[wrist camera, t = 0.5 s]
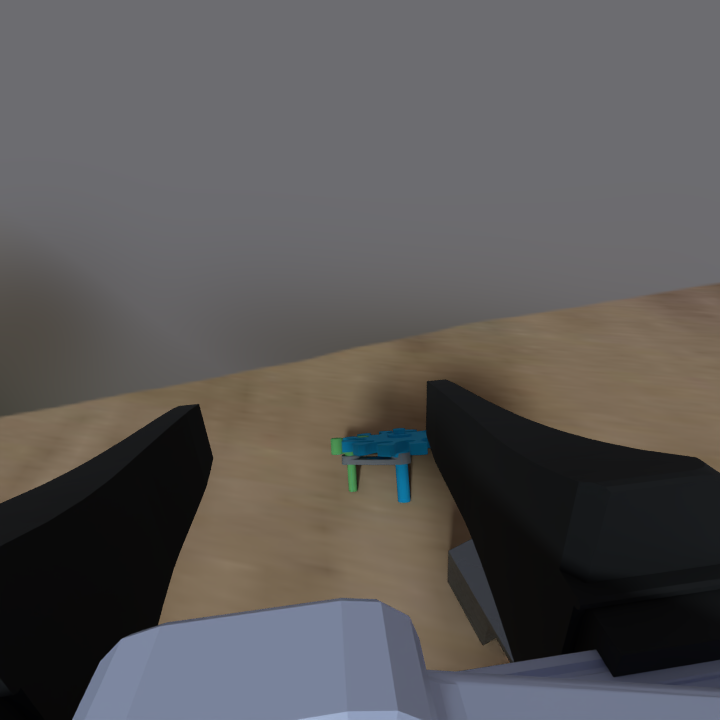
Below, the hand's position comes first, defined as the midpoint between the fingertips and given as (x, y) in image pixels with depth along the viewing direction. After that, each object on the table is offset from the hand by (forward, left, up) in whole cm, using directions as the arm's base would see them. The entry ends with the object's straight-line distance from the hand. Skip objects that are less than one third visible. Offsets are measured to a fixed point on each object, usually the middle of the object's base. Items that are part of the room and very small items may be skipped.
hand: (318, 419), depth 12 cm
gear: (+10, -6, -21) cm, 24 cm away
